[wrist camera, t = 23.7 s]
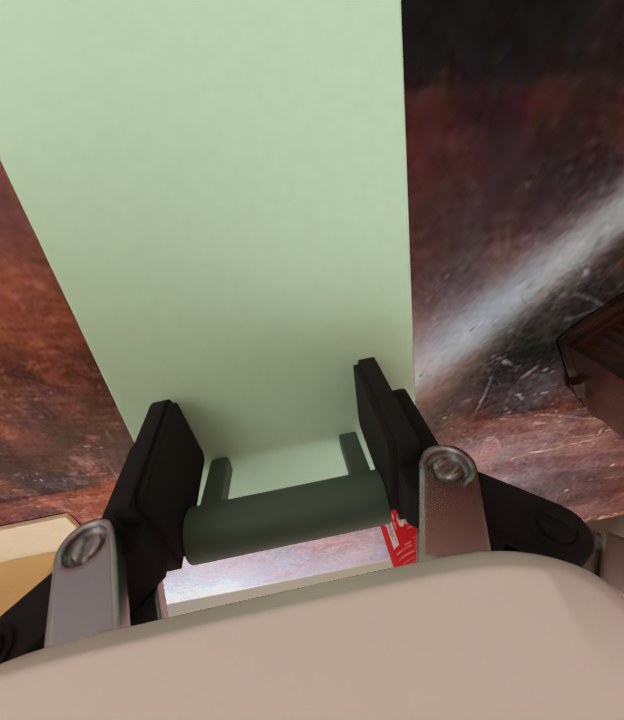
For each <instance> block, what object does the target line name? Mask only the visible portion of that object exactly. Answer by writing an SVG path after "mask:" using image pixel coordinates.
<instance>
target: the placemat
mask: <svg viewBox="0 0 624 720" xmlns="http://www.w3.org/2000/svg"><path fill="white" fill-rule="evenodd" d="M79 526H80V525H79V524H78V522H77V521H76V520H75V519H74V518H73V517H72V516H71V515H70V514H69V513H64V514H59V515H54V516H50V517H45V518H40V519H35V520H30V521H25V522H20V523H15V524H10V525H5V526H0V563H3V562H8V561H13V560H18V559H23V558H27V557H32V556H37V555H42V554H47V553H51V552H56V551H57V550H58V548H59V547H60V545H61V543H62V542H63V541H64V540H65V539H66V537H67V536H68V535H69V534H70V533H72V532H73V531H74V530H75V529H76V528H78V527H79Z"/></svg>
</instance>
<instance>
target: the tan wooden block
mask: <svg viewBox="0 0 624 720" xmlns="http://www.w3.org/2000/svg"><path fill="white" fill-rule="evenodd" d="M56 552H57V551H56ZM56 552H51V553H47V554H42V555H37V556H32V557H27V558H23V559H18V560H13V561H8V562H3V563H0V616H1V615H2V614H4V613H5V612H6V611H7V610H8V609H9V608H11V607H12V606H13V605H14V604H15V603H16V602H18V601H19V600H20V599H21V598H22V597H23V596H25V595H26V594H27V593H28V592H29V591H30V590H32V589H33V588H34V587H35V586H36V585H37V584H39V583H40V582H41V581H42V580H43V579H44V578H46V577H47V576H48V575H49V574H50V573H52V571H53V562H54V558H55V554H56Z"/></svg>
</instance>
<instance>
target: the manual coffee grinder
mask: <svg viewBox="0 0 624 720" xmlns="http://www.w3.org/2000/svg"><path fill="white" fill-rule="evenodd" d="M558 343H559V347H560V350H561V353H562V356H563V360H564V363H565V366H566V370H567V373H568V377H569V385H570V388H571V390H572V391H573V393H574V395H575V396H576V397H577V398H580V399H581V400H582V402H583V404H584V406H585V407H586V408H587V409H588V410H589V411H590V412H591V413H592V414H593V415H594V416H595V417H597V418H599V419H601V420H602V421H604V422H605V423H606V424H607V425H608V426H610V427H611V428H612V429H613V430H614V431H615V432H617V433H618V434H619V435H620V436H621V437H623V438H624V294H623V295H621V296H619V297H618V298H616V299H615V300H613V301H612V302H610V303H608V304H607V305H605V306H604V307H602V308H601V309H599V310H598V311H596V312H594V313H593V314H591V315H590V316H588V317H587V318H585V319H584V320H582V321H581V322H579V323H578V324H576V325H575V326H573V327H571V328H570V329H569V330H568V331H567V332H566V333H565V334H563V335H562V336H561V337H560V338H559V340H558Z"/></svg>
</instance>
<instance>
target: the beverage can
mask: <svg viewBox="0 0 624 720" xmlns="http://www.w3.org/2000/svg"><path fill="white" fill-rule="evenodd" d="M391 515H392V521H391V523H390V524H387V525H382V526H381V529H382V532H383V535H384V539H385V542H386V545H387V548H388V551H389V554H390V558H391V561H392V564H393V567H398V566H403V565H408V564H413V563H417V528H415V527H413V526H411V525H409V524H407V521H406V519H402V520H400V519H399V516H398V514H397V511H396V510H393V511H391Z"/></svg>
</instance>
